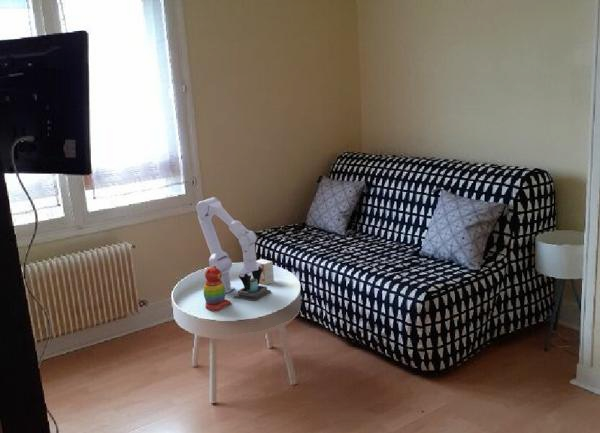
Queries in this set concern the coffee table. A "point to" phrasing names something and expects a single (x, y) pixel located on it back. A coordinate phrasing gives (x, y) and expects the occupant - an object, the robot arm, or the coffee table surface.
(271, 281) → the small box
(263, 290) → the socket
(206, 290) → the stacking bear
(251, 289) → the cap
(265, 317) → the coffee table surface
